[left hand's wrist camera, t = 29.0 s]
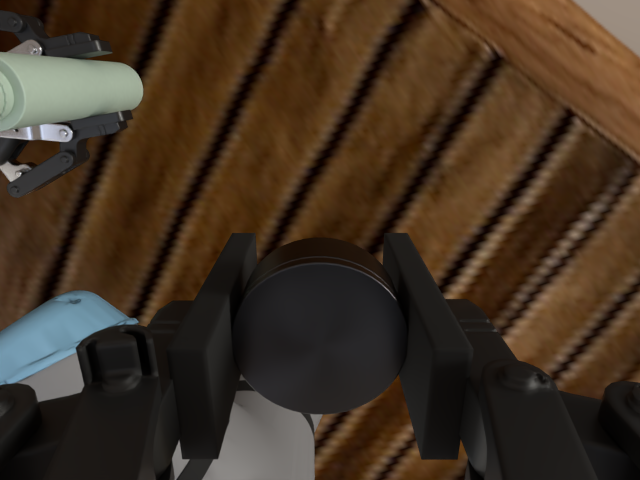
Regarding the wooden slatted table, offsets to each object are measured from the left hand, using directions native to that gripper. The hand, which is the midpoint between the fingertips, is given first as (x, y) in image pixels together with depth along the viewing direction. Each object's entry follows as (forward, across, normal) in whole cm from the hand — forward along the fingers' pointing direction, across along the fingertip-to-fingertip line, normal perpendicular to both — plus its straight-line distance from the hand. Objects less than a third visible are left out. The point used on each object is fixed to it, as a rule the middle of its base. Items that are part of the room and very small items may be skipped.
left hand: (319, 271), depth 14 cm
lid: (-4, 0, 0) cm, 4 cm away
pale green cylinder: (+26, +17, -6) cm, 32 cm away
